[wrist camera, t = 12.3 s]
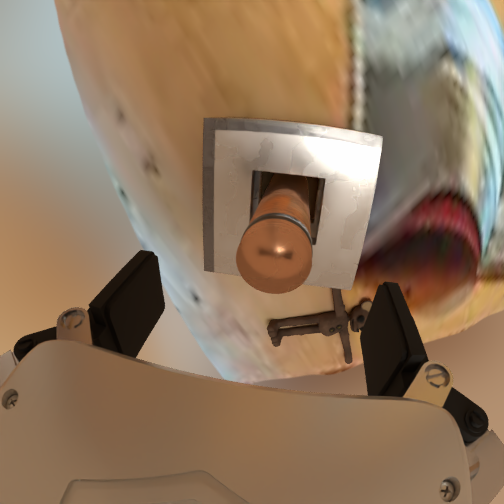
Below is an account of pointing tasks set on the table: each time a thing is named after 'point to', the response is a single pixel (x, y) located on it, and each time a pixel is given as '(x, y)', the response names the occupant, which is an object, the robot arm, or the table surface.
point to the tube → (278, 237)
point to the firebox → (290, 162)
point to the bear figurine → (324, 323)
